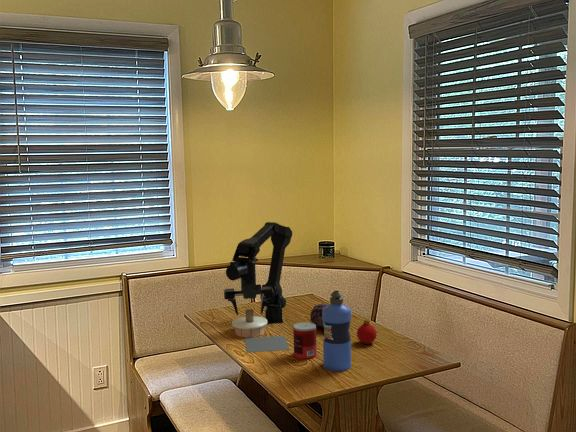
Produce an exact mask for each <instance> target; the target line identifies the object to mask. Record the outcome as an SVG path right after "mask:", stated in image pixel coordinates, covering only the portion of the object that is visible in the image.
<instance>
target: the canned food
mask: <svg viewBox="0 0 576 432" xmlns="http://www.w3.org/2000/svg"><path fill="white" fill-rule="evenodd" d="M292 328H293V331H292V332H293V336H292V337H293V357H294V358H295V359H298V360H303V361H304V360H305V361H306V360H312V359H315V358H316V356H317V325H315V324H313V322H309V321H308V322H305V321H304V322H297V323H295V324H293V327H292Z"/></svg>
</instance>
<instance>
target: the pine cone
mask: <svg viewBox="0 0 576 432" xmlns="http://www.w3.org/2000/svg"><path fill="white" fill-rule="evenodd" d="M329 305H330V304H327V303H318V304H315V305H314V306H313V308H312V309H311V311H310V313H309V316H310V319H309V321H310V323H313V324H315V325H316V327H317V326H318V327H319V328H320V329H321V328H324V324H323V319H322V309H323V308H324V307H327V306H329Z"/></svg>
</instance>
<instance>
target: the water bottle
mask: <svg viewBox="0 0 576 432" xmlns="http://www.w3.org/2000/svg"><path fill="white" fill-rule="evenodd" d="M330 296H331V297H329V303H330V304H328V305H329V306H327V307H324V308H323V309H322V319H323V324H324V327H323V331H324V332H323V340H322V341H323V342H322V343H323V351H322V353H323V355H322V356H323V368H324V369H325V368H326V370H328V371H331V372H345V371H348V370H349V369H351V368H352V338H351V334H350V330H351V329H350V328H351V321H352V308H351V307H349V306H347V305H345V304H343V303H344V297H343V293H341V291H339V290H333V291H332V293H331V294H330Z"/></svg>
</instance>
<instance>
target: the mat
mask: <svg viewBox="0 0 576 432" xmlns="http://www.w3.org/2000/svg"><path fill="white" fill-rule="evenodd" d="M244 342H245V343H244V344H245V348H246V353H247V354H249V353H262V352H273V351H274V352H276V351H290V350H291V349H290V346H289V344H288V341H287V339H286V337H285V335H274V336H262V337H261V336H257V337H244Z"/></svg>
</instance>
